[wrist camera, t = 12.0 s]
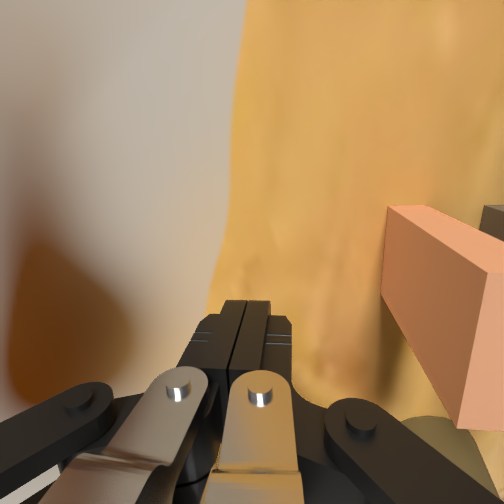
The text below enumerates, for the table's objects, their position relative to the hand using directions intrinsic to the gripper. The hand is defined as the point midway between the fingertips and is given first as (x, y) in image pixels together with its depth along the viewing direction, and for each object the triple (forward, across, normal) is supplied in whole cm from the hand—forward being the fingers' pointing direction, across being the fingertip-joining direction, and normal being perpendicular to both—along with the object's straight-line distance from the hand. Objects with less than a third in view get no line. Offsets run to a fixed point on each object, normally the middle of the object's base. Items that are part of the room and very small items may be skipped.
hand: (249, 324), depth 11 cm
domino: (+8, -7, 0) cm, 10 cm away
